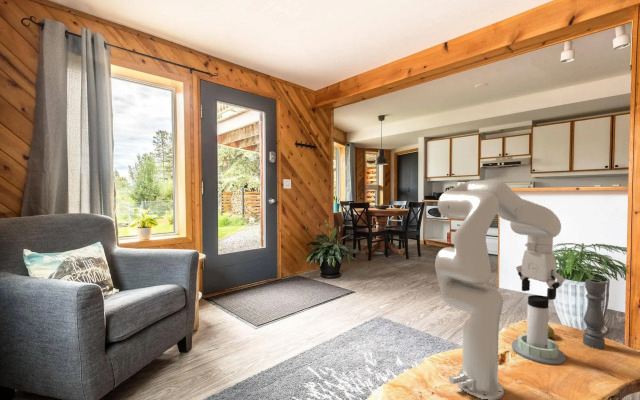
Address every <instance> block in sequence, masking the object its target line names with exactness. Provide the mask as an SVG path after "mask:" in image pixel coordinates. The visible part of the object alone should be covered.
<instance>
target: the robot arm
mask: <svg viewBox="0 0 640 400" xmlns="http://www.w3.org/2000/svg"><path fill="white" fill-rule="evenodd" d="M437 209H438V212H439V213H440V215H441V216H443V217H445V218H447V219H454V220H463V221H462V223H461V224H460V225H458V227H457V229H456V230H455V232H454V233H453V239H452V240H453V241H452V242H453V247H451V246H449V247H443V248H441V249H440V250H439V251H438V253H437V254H436V256H435V257H436V258H435V262H434V263H435V265H434V267H435V272H436V277H437V281H438V286H439V290H440V294H441V298H442V300H443V301H444V302H445V303H446V304H447V305H448V306H450V307H453V308H455V309H458V310H461V311H463V312H466V313H469V314H470V317H469V318H468V319H467V320H465V322H464V324H463V327H462V369H459V373H458V374H457V375H453V376H449V377H448V379H449V383H450V384H451V385H455V384H457V385H458V388H460V387H461V388H462V389H463V390H465V391H466V392H468V393H470V394H472V395H474V396H476V397H478V398H477V399H479V398H481V399H480V400H483V399H488V400H499V399H501V398H502V397H503V396H504V393H505V392H504V387H503V385H502V384H501V382H500V381H499V380H498V379H499V378H498V377H499V375H498V374H499V332H500V322H501V321H500V320H501V315H502V310H503V307H504V297H503V295H502V293H501V292H500V291H499V290H498V289H497V288H495V287H492V286H491V285H489V284H487V283H488V282H490V281H491V277H492V267H491V262H490V256H489V251H488V246H487V234H488V231H489V229H490V226H491V225H492V223H493V222H494V221H493V220H494V219H495V217H496V216H497V215H498V216H499V217H500V218H501V219H502V220H505V221H508V222H509V223H510V224H509V225H510V229H511V230H512V231H513V232H514V233H515V234H518V235H522V236H527V242H526V243H525V247H526V248H527V249H525V250H524V252H523V256H522V261H521V265H518V266H516V267H515V269H516V271H517V275H518V276H519V277H520V278H519V280H520V281H521V291H522V292H529V291H530V289H531V288H530V287H531V280H535V281H538V282H542V283H546V285H547V287H548V288H546V289H547V292H546V293H547V294H546V296H547V299H548V300H549V301H552V300H553V301H554V300H556V298H557V289H559V288H560V287H561V286H562V285H563V283H564V282H565V280H566V279H565V277H563V276H562V275H560V274H559V273H558V272H557V265H556V263H557V262H556V257H555V254H554V253H553V252H554V251H553V249H554V247H553V246H554V238H555V237H557V236H559V234H560V233H561V232H562V231H561V230H562V223H561V220H560V219H559V216H557V214H555V212H554V211H553V210H551V209H549V208H548V207H546V206H543V205H541V204H538V203H534V202H533V201H530V200H528V199H523V198H521V196H520V195H518V194H517V193H516V192H515V191H514V190H513V189H512V188H511V187H510V186H509V185H507V183H505V182H503V181H502V180H497V179H487V180H486V179H482V180H469V181H465V182H463V183H460V184H459V185H457V186H454V187H452V188H450V189H447V190H446V191H444V192H443V193H442V194H441V195H440V196H439V199H438V201H437ZM530 279H531V280H530ZM461 388H460V389H461ZM462 389H461V390H462ZM463 390H462V391H463ZM465 391H464V392H465ZM466 392H465V393H466ZM468 393H467V394H468ZM474 396H473V397H474ZM476 397H475V398H476Z"/></svg>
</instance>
